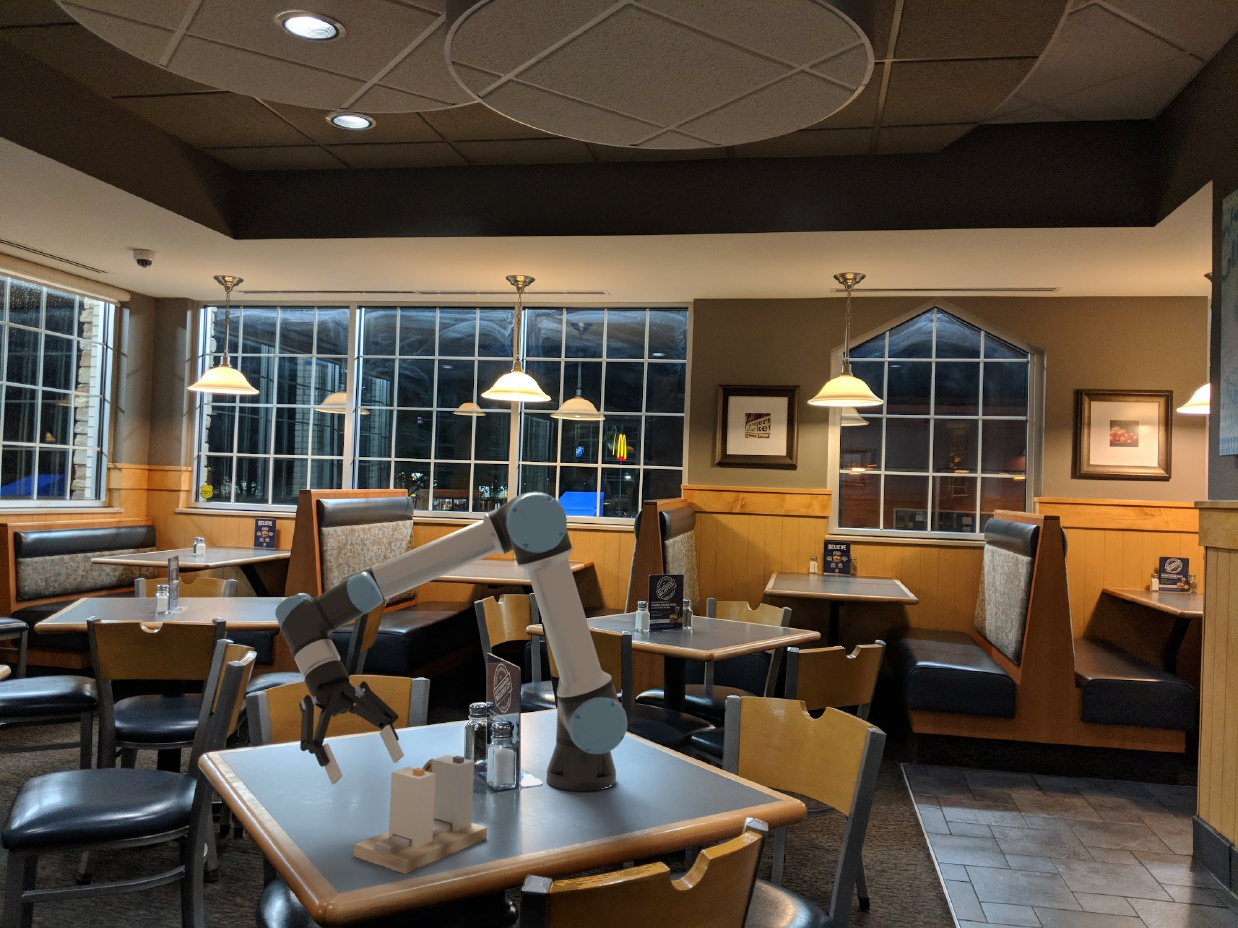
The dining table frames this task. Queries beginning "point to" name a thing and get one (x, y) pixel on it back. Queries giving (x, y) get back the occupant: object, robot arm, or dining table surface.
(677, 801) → the dining table surface
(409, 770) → the block
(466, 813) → the fitted module
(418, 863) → the rail board
